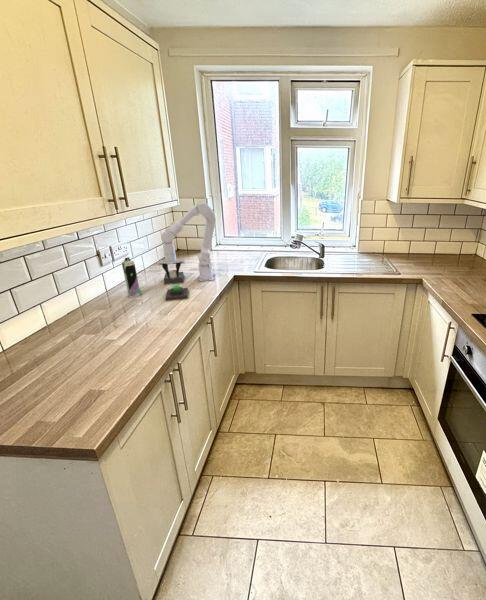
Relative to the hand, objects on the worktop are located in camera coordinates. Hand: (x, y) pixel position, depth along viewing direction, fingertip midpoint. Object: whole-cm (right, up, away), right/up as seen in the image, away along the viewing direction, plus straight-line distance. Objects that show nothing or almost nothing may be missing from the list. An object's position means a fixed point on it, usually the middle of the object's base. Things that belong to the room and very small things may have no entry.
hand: (173, 276), depth 181 cm
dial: (0, 0, 0) cm, 0 cm away
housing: (+10, -11, -18) cm, 23 cm away
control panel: (-1, -2, +4) cm, 5 cm away
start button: (+10, -8, -19) cm, 23 cm away
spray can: (-12, -11, -19) cm, 25 cm away
